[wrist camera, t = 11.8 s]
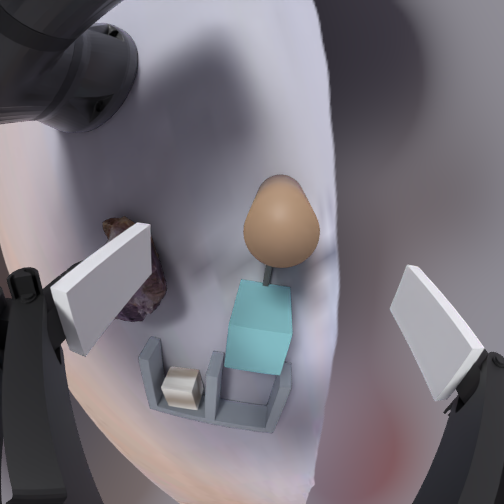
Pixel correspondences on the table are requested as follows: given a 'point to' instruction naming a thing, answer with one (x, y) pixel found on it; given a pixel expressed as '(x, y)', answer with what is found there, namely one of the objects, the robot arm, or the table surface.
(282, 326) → the block
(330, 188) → the table surface
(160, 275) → the rock
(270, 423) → the lane rack
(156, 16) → the table surface
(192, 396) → the cream cube
